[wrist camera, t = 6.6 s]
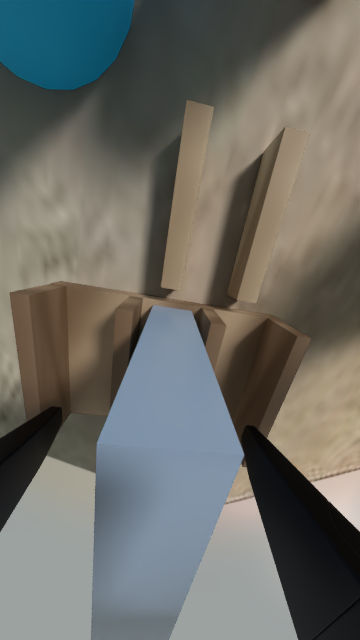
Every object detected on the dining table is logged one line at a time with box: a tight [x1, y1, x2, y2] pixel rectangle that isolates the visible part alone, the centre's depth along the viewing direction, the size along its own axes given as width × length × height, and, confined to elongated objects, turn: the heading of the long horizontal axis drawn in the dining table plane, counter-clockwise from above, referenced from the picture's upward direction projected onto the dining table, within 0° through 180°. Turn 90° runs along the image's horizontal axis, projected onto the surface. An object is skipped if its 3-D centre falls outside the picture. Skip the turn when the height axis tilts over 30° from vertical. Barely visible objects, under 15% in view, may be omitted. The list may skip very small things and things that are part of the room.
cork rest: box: [161, 100, 310, 303], centre depth 10 cm, size 6×8×2 cm
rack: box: [10, 281, 312, 467], centre depth 12 cm, size 15×10×4 cm
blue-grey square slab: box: [91, 305, 244, 640], centre depth 9 cm, size 2×9×9 cm, turn 170°
